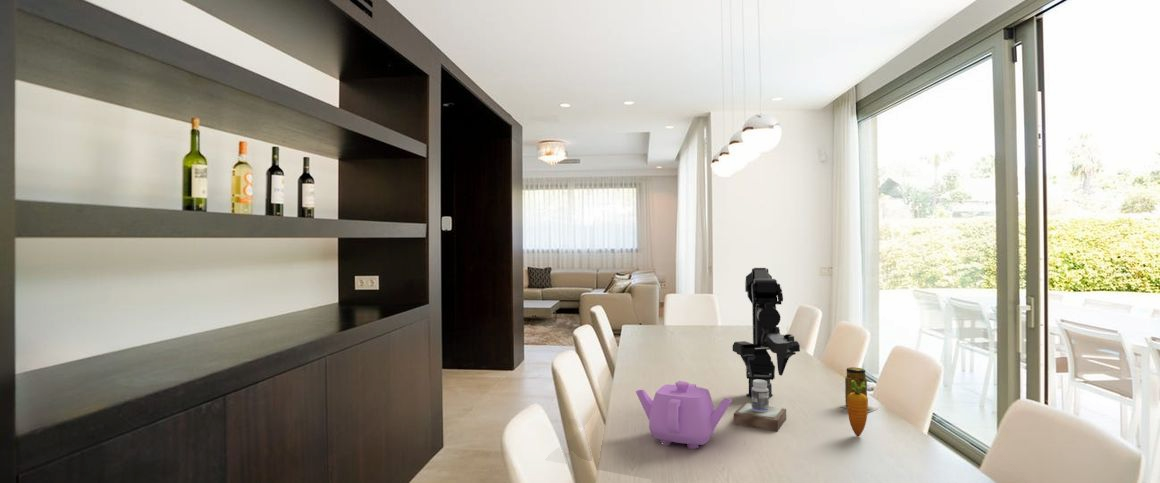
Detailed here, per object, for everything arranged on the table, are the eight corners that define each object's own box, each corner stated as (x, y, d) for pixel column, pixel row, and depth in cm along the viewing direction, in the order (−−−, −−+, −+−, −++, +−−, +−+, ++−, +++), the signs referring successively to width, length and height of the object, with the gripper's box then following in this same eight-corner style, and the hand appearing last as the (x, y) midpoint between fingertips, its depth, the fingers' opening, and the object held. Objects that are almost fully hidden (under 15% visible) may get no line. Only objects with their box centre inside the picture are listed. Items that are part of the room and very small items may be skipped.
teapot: (735, 447, 134) (734, 387, 135) (673, 458, 127) (672, 395, 128) (690, 424, 152) (690, 371, 152) (634, 433, 145) (633, 377, 145)
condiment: (850, 402, 172) (849, 365, 172) (878, 408, 165) (877, 370, 166) (839, 407, 167) (839, 368, 167) (868, 413, 161) (867, 373, 161)
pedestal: (733, 424, 152) (733, 412, 152) (744, 412, 162) (744, 401, 162) (777, 431, 146) (777, 419, 146) (786, 419, 156) (786, 407, 156)
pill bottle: (749, 407, 156) (748, 379, 156) (764, 407, 156) (764, 378, 157) (755, 412, 151) (755, 383, 151) (771, 412, 152) (771, 382, 152)
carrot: (866, 434, 143) (865, 378, 143) (870, 440, 138) (869, 382, 138) (846, 432, 144) (845, 376, 145) (848, 438, 140) (848, 381, 140)
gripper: (751, 328, 145) (752, 385, 145) (811, 325, 150) (812, 381, 150) (731, 322, 156) (731, 375, 156) (788, 319, 160) (788, 371, 160)
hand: (766, 376), depth 155 cm, fingers open, 9 cm apart
